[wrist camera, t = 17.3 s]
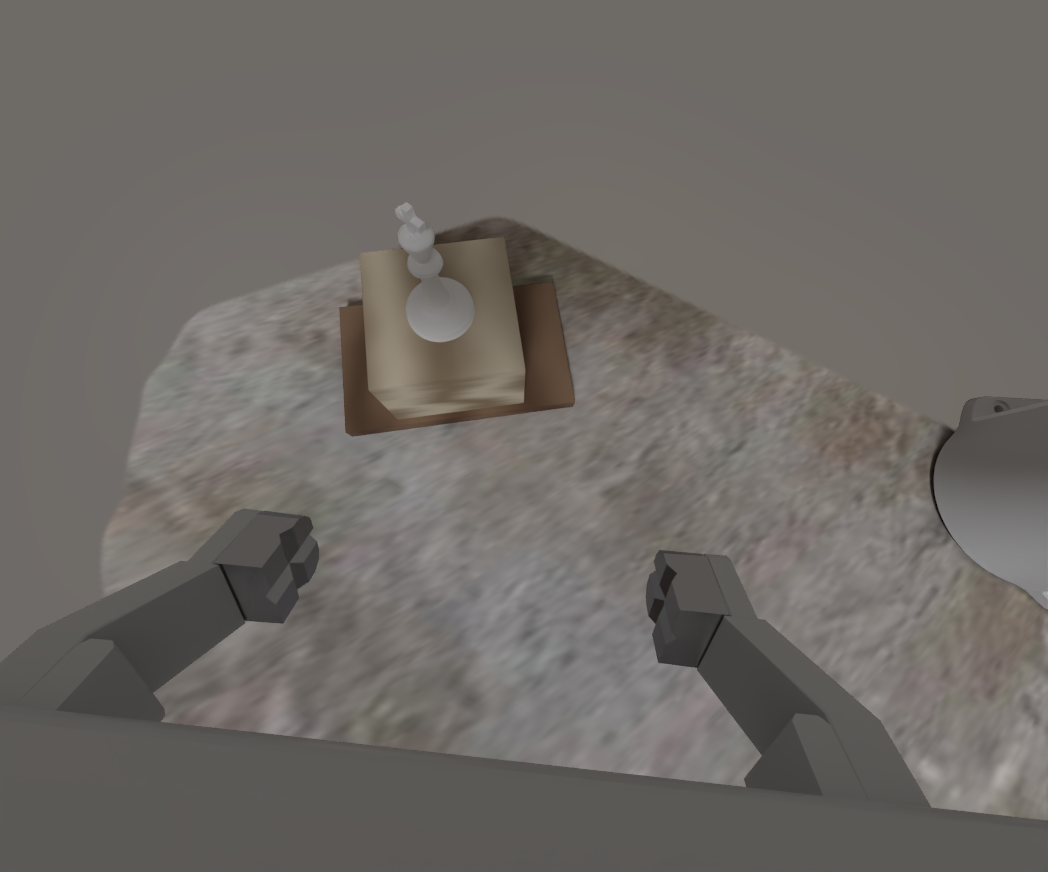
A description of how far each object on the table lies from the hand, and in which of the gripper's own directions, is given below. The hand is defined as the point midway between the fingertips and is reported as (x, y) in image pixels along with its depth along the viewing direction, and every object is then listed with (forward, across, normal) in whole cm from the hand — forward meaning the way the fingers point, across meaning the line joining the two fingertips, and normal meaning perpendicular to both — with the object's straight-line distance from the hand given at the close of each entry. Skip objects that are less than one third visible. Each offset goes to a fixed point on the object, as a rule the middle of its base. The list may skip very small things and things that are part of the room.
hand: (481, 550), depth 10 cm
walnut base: (+30, +7, +8) cm, 32 cm away
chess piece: (+24, +7, +2) cm, 25 cm away
